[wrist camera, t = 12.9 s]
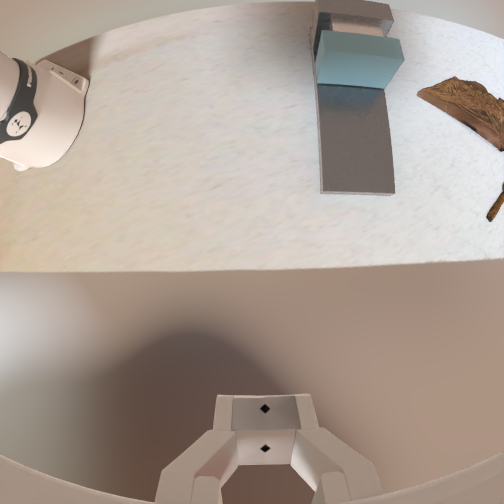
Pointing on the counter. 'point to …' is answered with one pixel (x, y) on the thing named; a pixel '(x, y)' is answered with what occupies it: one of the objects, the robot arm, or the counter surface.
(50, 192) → the counter surface
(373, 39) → the slide jaw
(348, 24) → the steel block
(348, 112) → the vise bed
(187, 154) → the counter surface
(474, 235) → the counter surface
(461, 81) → the wooden fragment
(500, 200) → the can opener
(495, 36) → the counter surface
